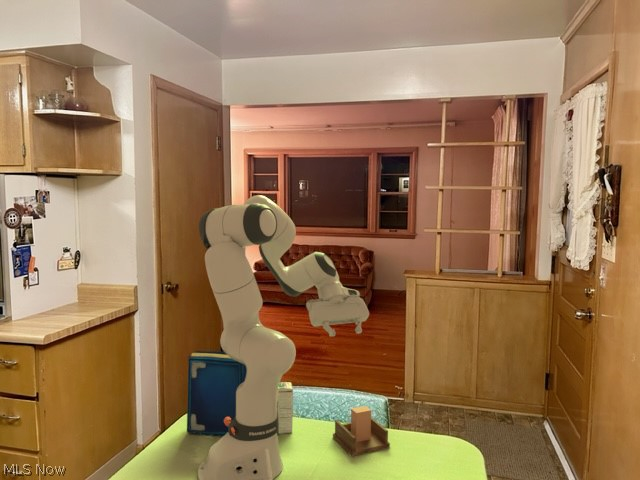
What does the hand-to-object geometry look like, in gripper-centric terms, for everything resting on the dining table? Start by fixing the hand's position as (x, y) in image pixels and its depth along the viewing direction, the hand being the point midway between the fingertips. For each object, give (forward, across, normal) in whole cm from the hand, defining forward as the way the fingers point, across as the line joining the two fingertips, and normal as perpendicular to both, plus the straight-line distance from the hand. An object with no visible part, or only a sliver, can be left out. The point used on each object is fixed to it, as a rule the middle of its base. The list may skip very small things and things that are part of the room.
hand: (346, 334), depth 142 cm
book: (+12, -36, +33) cm, 50 cm away
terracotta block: (+27, +1, +15) cm, 31 cm away
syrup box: (+16, -18, +28) cm, 37 cm away
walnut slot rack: (+28, +1, +16) cm, 32 cm away
